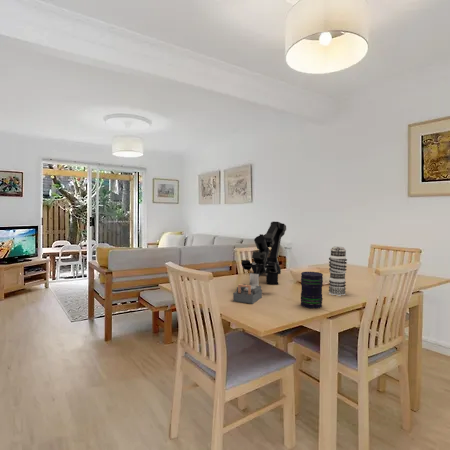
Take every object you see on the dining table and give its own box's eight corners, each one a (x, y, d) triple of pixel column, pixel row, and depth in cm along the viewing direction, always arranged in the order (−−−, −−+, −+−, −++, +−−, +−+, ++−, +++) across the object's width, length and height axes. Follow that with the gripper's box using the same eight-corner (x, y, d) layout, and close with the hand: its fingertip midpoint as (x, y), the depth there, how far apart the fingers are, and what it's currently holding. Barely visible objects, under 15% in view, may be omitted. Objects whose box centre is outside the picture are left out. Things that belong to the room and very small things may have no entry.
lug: (239, 292, 161) (239, 284, 160) (250, 293, 158) (251, 285, 158) (238, 292, 159) (238, 284, 159) (250, 294, 157) (250, 286, 157)
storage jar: (306, 301, 161) (306, 270, 160) (325, 305, 154) (326, 273, 154) (296, 305, 153) (297, 273, 152) (316, 309, 147) (317, 276, 146)
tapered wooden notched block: (250, 286, 172) (250, 273, 171) (258, 287, 170) (258, 273, 169) (243, 290, 163) (243, 276, 162) (251, 291, 161) (251, 277, 160)
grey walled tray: (243, 295, 171) (243, 283, 171) (261, 297, 167) (262, 285, 166) (233, 301, 159) (233, 288, 159) (252, 304, 155) (252, 291, 155)
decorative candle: (334, 296, 169) (335, 248, 168) (324, 292, 178) (325, 246, 177) (350, 295, 171) (351, 247, 170) (339, 291, 180) (340, 246, 179)
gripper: (242, 245, 179) (234, 268, 170) (276, 247, 171) (269, 271, 162) (247, 257, 187) (240, 280, 177) (280, 260, 179) (273, 284, 169)
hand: (255, 279), depth 171 cm, fingers closed
